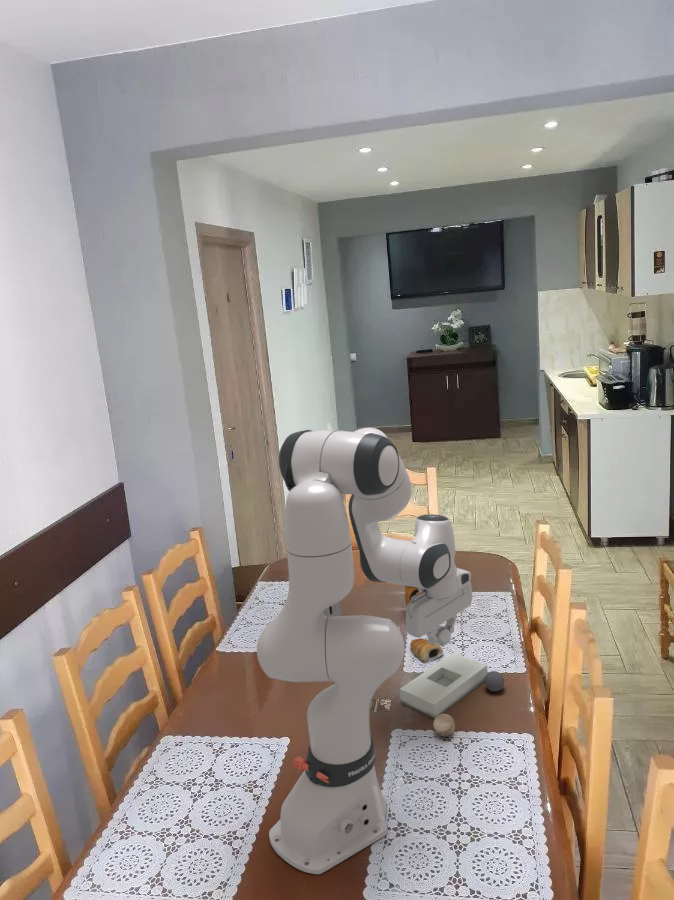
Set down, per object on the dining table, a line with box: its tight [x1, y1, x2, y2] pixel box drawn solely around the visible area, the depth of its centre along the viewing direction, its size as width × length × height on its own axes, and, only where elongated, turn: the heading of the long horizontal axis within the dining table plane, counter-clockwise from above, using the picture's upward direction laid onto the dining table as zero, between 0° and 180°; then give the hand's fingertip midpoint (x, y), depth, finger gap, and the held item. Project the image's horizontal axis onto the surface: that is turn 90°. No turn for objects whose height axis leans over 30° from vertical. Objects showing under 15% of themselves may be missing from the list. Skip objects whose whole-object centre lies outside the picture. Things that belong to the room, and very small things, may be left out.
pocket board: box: [399, 652, 488, 719], centre depth 168 cm, size 20×10×4 cm, turn 134°
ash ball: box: [432, 713, 456, 737], centre depth 152 cm, size 4×4×4 cm
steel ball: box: [433, 625, 452, 647], centre depth 165 cm, size 4×4×4 cm
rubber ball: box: [483, 670, 505, 693], centre depth 166 cm, size 4×4×4 cm
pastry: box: [409, 637, 444, 663], centre depth 186 cm, size 9×7×4 cm
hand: (441, 638), depth 166 cm, fingers closed on steel ball, 4 cm apart
